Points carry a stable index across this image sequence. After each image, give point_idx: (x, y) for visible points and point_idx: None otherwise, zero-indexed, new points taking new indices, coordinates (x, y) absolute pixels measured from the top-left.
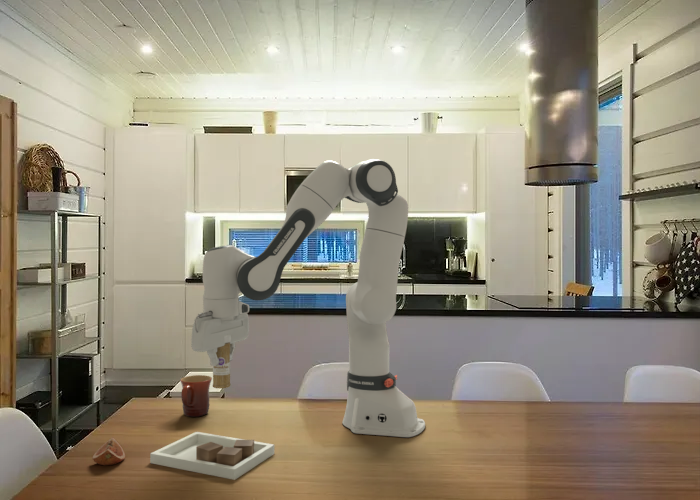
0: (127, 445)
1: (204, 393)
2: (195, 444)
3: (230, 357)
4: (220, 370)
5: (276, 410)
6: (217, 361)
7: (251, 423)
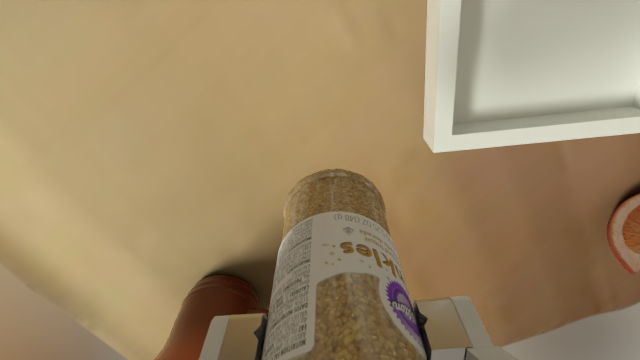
0: (501, 267)
1: (206, 325)
2: (461, 117)
3: (243, 336)
4: (396, 257)
5: (12, 134)
6: (461, 321)
7: (176, 117)
